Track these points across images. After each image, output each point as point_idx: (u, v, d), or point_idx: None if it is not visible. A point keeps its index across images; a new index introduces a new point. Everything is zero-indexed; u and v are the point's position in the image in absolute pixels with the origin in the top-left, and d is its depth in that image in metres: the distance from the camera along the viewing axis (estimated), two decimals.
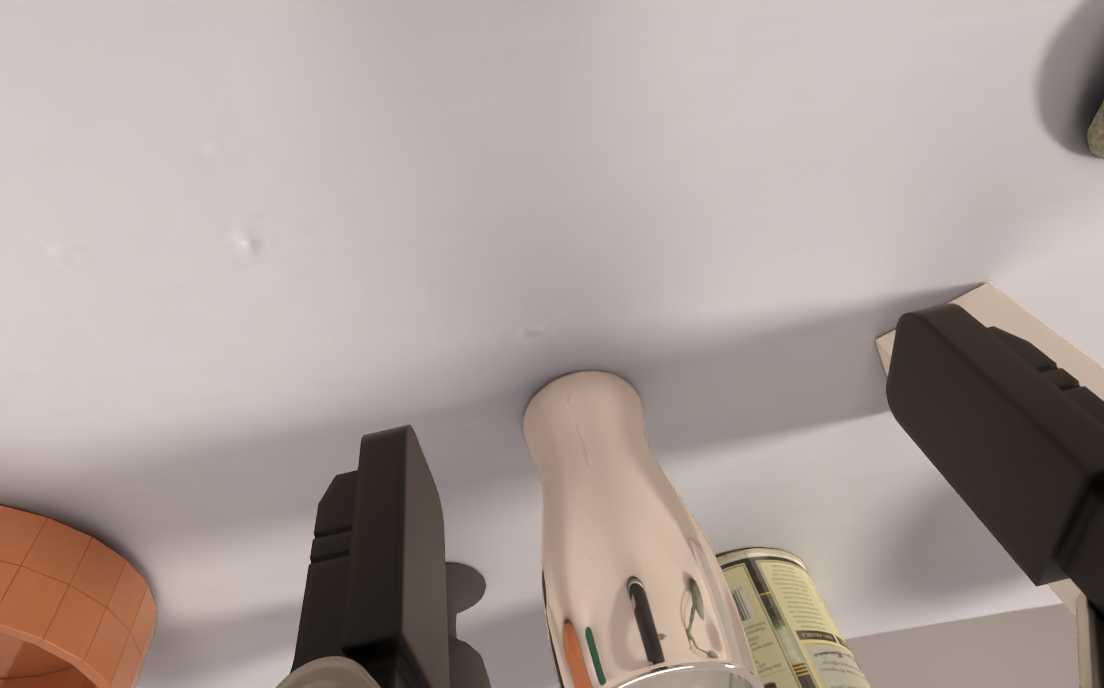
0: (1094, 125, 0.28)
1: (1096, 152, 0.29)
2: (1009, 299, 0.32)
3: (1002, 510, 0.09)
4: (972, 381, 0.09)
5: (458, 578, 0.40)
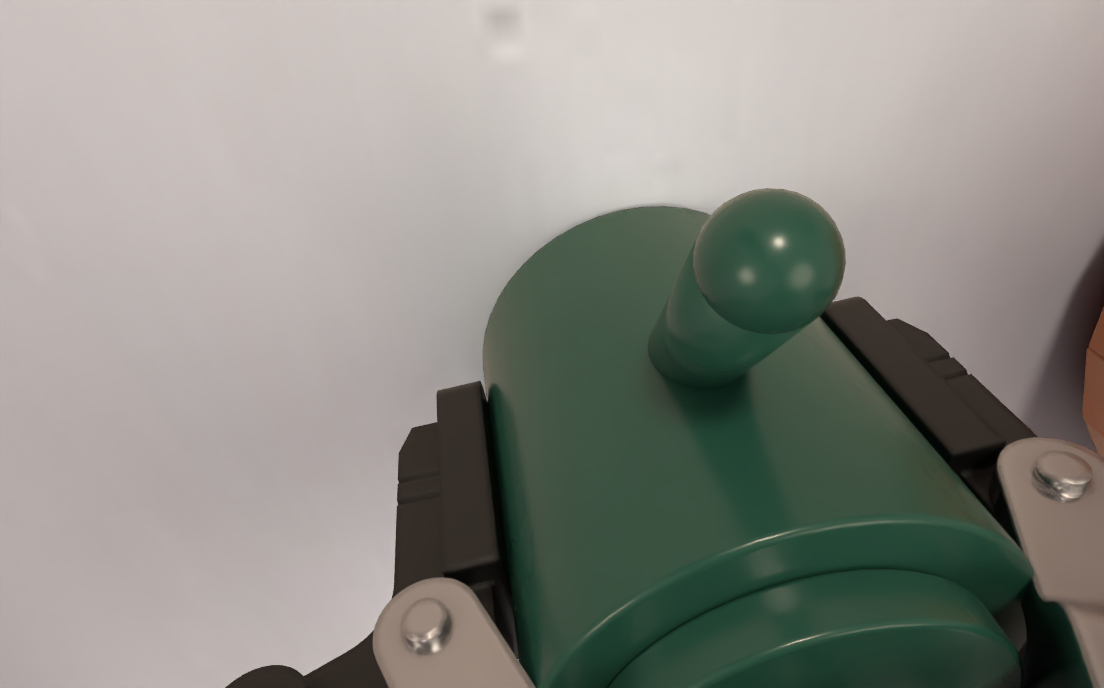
0: None
1: None
2: None
3: None
4: (866, 370, 0.10)
5: None
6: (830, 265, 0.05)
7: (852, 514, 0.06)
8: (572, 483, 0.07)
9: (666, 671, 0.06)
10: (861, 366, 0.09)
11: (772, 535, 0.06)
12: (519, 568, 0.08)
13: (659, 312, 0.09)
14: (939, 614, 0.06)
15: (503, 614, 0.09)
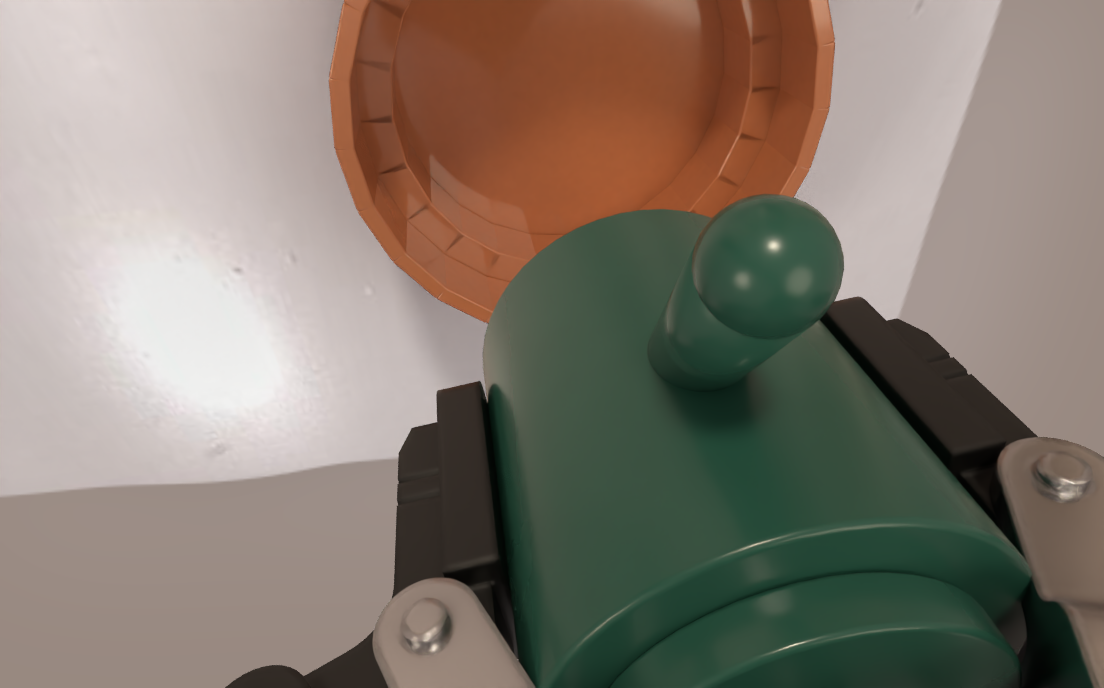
0: None
1: None
2: None
3: None
4: (866, 369, 0.10)
5: None
6: (828, 271, 0.05)
7: (851, 518, 0.06)
8: (571, 486, 0.07)
9: (665, 674, 0.06)
10: (860, 369, 0.09)
11: (770, 539, 0.06)
12: (519, 571, 0.08)
13: (658, 315, 0.09)
14: (937, 617, 0.06)
15: (503, 614, 0.09)
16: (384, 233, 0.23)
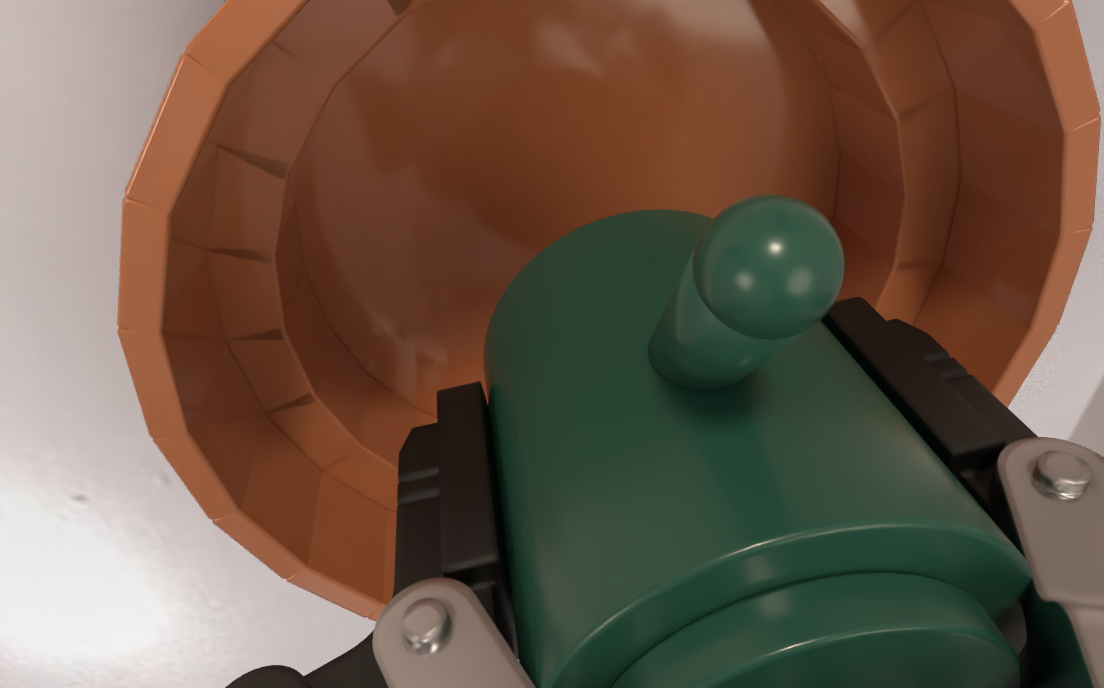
0: None
1: None
2: None
3: None
4: (866, 370, 0.10)
5: None
6: (829, 271, 0.05)
7: (851, 518, 0.06)
8: (572, 487, 0.07)
9: (666, 674, 0.06)
10: (861, 369, 0.09)
11: (770, 539, 0.06)
12: (520, 571, 0.08)
13: (659, 315, 0.09)
14: (938, 618, 0.06)
15: (503, 614, 0.09)
16: (264, 546, 0.13)
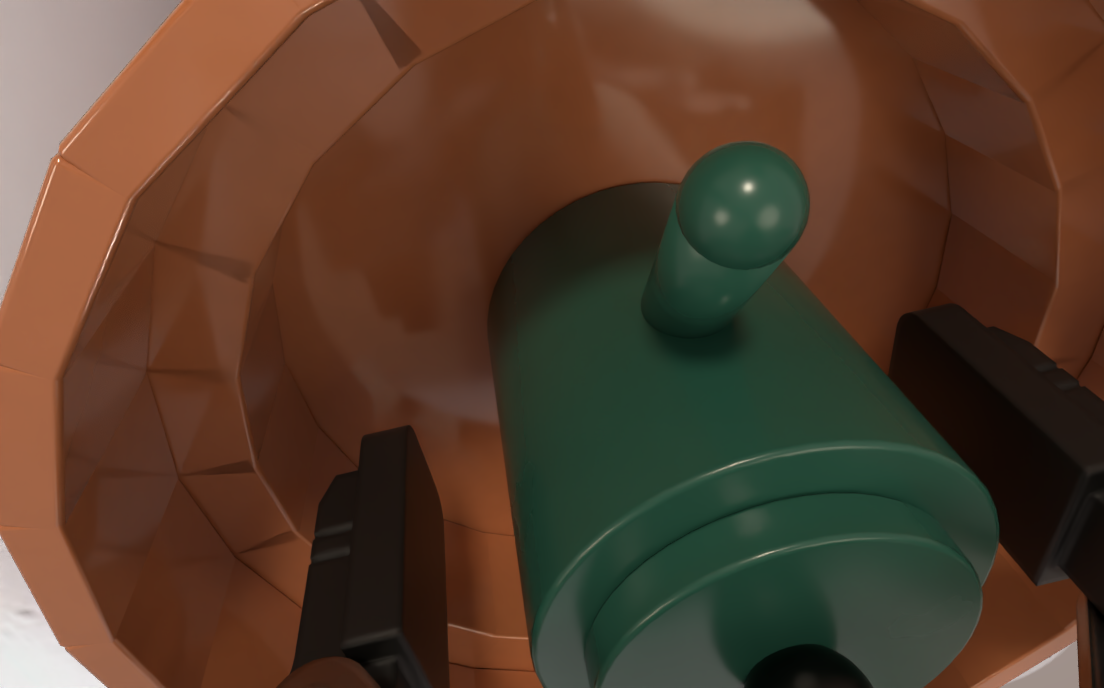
0: None
1: None
2: None
3: (1001, 510, 0.09)
4: (972, 381, 0.09)
5: None
6: (794, 205, 0.05)
7: (822, 440, 0.06)
8: (570, 426, 0.08)
9: (654, 584, 0.07)
10: (840, 324, 0.09)
11: (748, 457, 0.06)
12: (522, 507, 0.08)
13: None
14: (900, 530, 0.07)
15: (414, 686, 0.08)
16: None
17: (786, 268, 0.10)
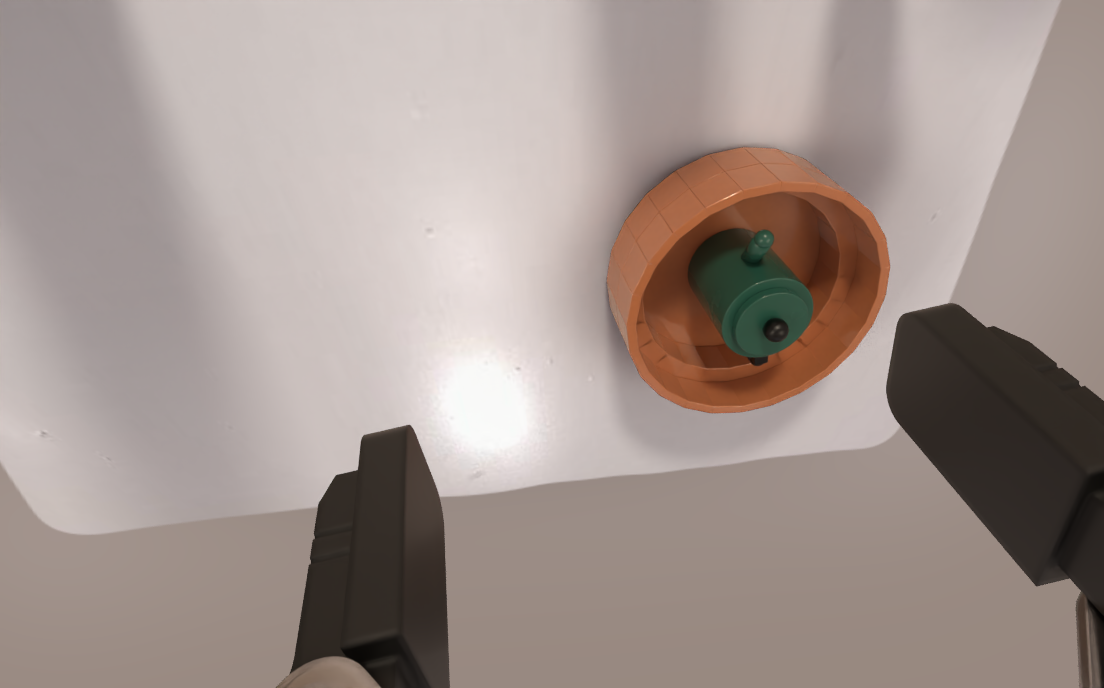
0: None
1: None
2: None
3: (1002, 510, 0.09)
4: (972, 381, 0.09)
5: None
6: (771, 239, 0.37)
7: (777, 277, 0.39)
8: (728, 281, 0.40)
9: (748, 303, 0.39)
10: None
11: (764, 280, 0.39)
12: (716, 299, 0.41)
13: (742, 251, 0.41)
14: (790, 293, 0.39)
15: (413, 686, 0.08)
16: (640, 363, 0.42)
17: (772, 250, 0.42)
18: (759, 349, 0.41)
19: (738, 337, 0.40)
